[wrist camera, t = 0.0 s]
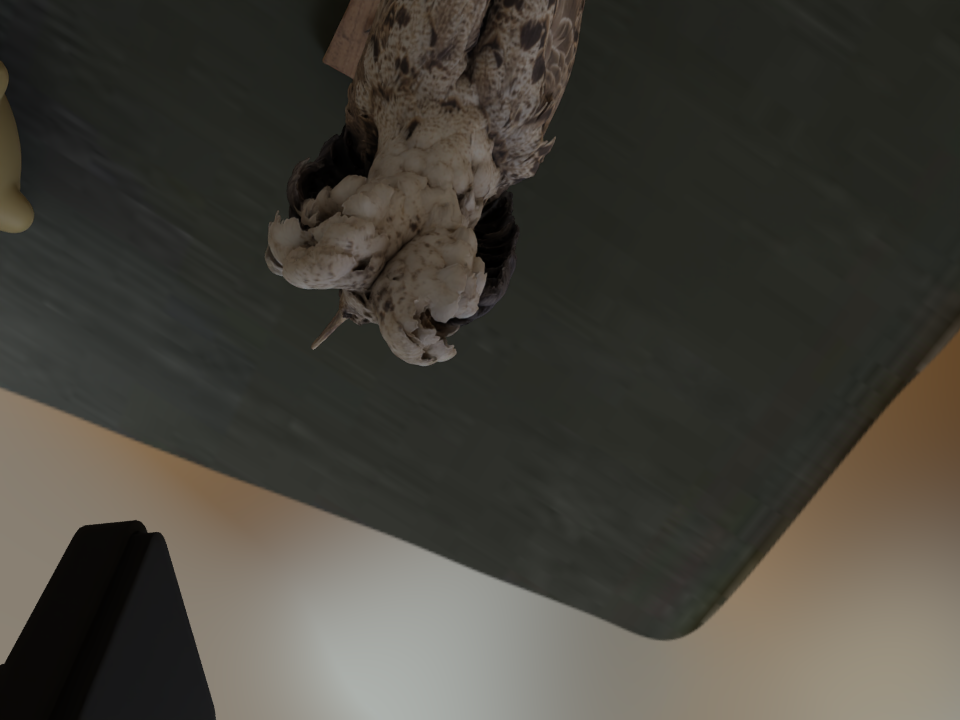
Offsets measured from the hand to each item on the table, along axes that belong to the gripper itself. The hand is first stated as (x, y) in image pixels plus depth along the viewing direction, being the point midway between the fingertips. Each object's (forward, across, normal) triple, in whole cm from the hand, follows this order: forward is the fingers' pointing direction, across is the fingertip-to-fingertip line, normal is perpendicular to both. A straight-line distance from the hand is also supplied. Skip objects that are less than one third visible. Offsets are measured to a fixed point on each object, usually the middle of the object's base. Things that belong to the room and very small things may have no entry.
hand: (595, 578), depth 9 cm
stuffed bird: (+31, 0, -3) cm, 32 cm away
